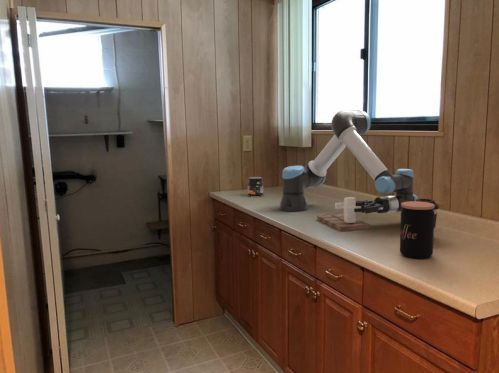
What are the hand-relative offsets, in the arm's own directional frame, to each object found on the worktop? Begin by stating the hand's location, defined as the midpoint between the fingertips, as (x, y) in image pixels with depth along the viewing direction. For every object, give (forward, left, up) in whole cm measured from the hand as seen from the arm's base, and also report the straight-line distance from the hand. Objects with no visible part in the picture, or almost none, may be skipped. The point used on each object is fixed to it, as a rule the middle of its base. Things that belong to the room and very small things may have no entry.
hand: (340, 208), depth 181 cm
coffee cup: (+24, +24, -9) cm, 35 cm away
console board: (-7, +4, -9) cm, 12 cm away
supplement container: (-99, -11, -9) cm, 100 cm away
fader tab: (0, +4, -7) cm, 8 cm away
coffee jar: (+43, +6, -9) cm, 44 cm away
